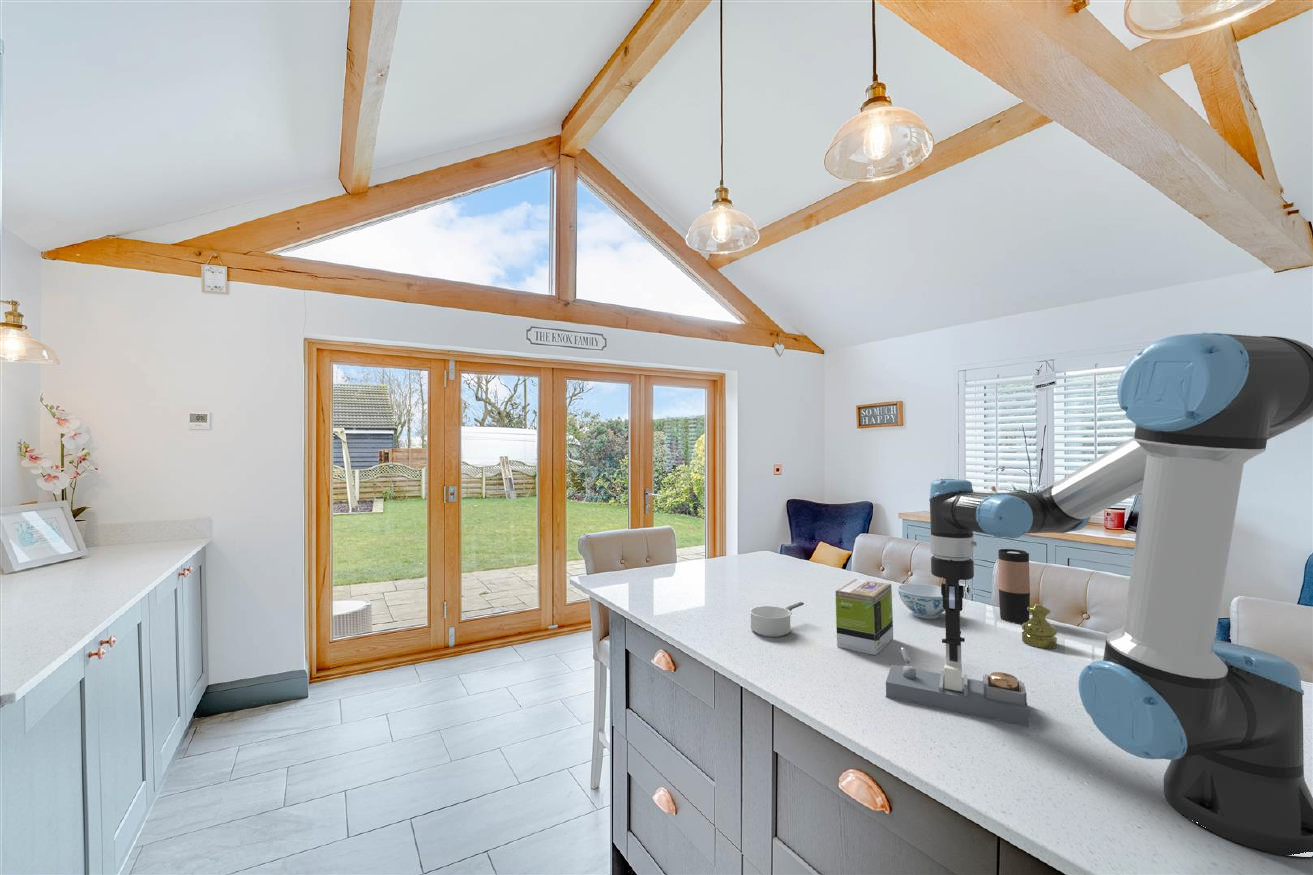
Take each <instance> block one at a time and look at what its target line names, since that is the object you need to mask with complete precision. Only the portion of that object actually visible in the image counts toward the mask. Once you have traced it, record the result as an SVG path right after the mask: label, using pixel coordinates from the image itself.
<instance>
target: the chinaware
mask: <svg viewBox="0 0 1313 875" xmlns="http://www.w3.org/2000/svg"><path fill="white" fill-rule="evenodd" d="M897 591H898V595H899V597H900V600H901V601H902V603H903V604H904V605H905V607H906V608H908V610H910V611H911V612H912V614H913V616H914V617H916V618H920V619H927V620H934V619H937V618H938V617H939V615H940V614H942V613H945V609H944V608H943V596H942V595H941V586H939V585H933V584H926V583H904V584H903V583H902V584H899V585H898V586H897Z"/></svg>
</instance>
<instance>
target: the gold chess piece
mask: <svg viewBox="0 0 1313 875" xmlns="http://www.w3.org/2000/svg"><path fill="white" fill-rule="evenodd" d="M1027 610H1028V611H1029V612H1030V614H1031V616H1032V617H1031V618H1029V620H1028V621H1027V622H1024V623H1023V624H1021V629H1022V632H1021V641H1022V642H1023V643H1025V644H1026V645H1027V646H1031V647H1034V646H1035V647H1034V648H1038V647H1040V648H1039V649H1046V648H1051V649H1055V648H1057V646H1058V638H1057V636H1056V635H1058V634H1057V633H1058V630H1057V628H1056V627H1055V626H1054V625H1052V624H1051V623H1050V622H1049V621H1048V620H1047V619H1046V616H1048V615H1050V614H1051V613H1052V612H1051V610H1050V609H1049V608H1048V607H1046V606H1044V605H1042V604H1039V603H1034V604H1033V605H1031V604H1030V606H1028V607H1027Z"/></svg>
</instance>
